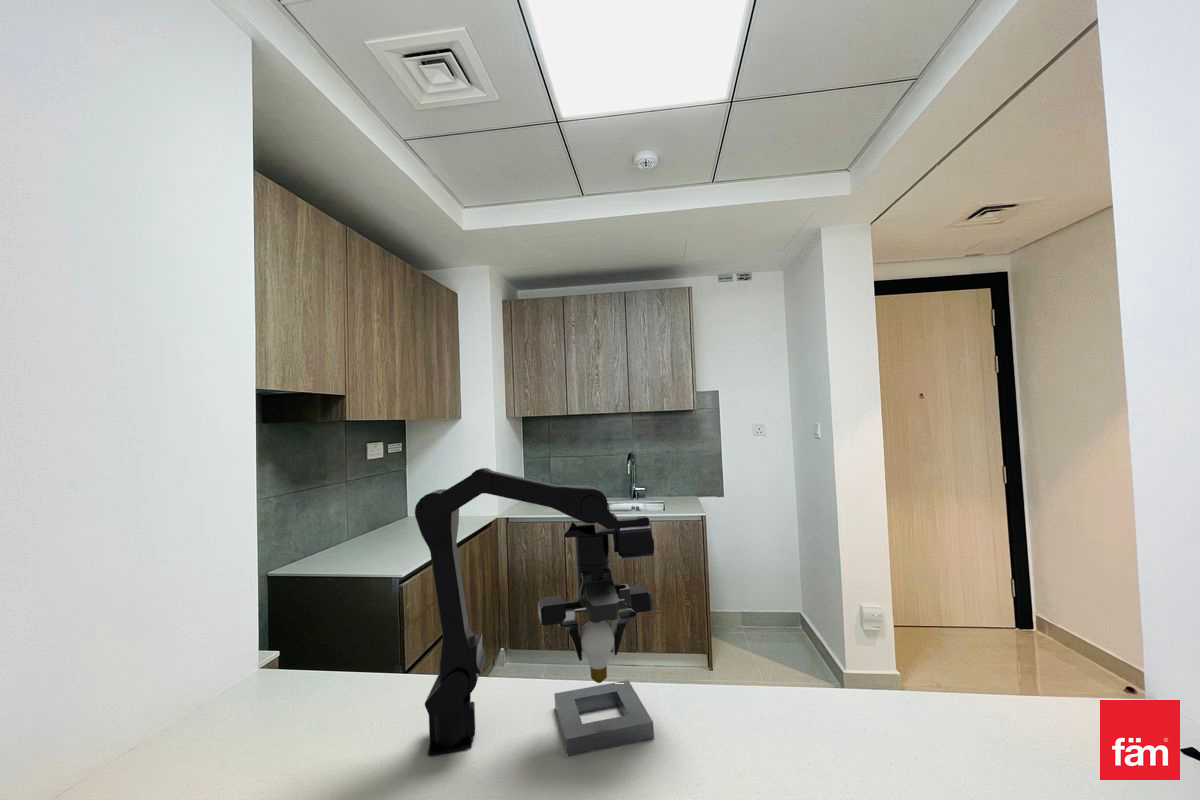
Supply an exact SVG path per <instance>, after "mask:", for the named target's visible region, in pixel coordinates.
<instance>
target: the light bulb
mask: <svg viewBox="0 0 1200 800" xmlns="http://www.w3.org/2000/svg"><path fill="white" fill-rule="evenodd" d="M579 638H580V644H581V650H582V652H583V653H584V655H585V656H586V658H587V661H588V665H589V668H590V670H589V671H590V679H592V681H594V682H595V683H597V684H601V683H603V682H604V681H605V680H606V679H607V678H608V675H607V674H608V671H607V670H608V668H607V667H608V665H607V664H608V663H609V657H610V654H611V652H612V651H613V645H614V632H613V630H612V625H610V624H609V622H607V621H600V622H599V623H593V622H591V621H590V620H589V621H587V622H586V623H585V624H584V625H582V627H581V630H580V631H579Z"/></svg>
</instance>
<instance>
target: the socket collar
mask: <svg viewBox="0 0 1200 800" xmlns="http://www.w3.org/2000/svg"><path fill="white" fill-rule="evenodd" d="M615 683H624V684H615ZM616 707H617V708H618V710H619V711H620V714H621V716H615V717H612V718H610V717H609V718H607V719H602V720H597V721H595V720H594V721H592V722H585V723H583V722H582V719H581V716H580V714H584V713H588V712H589V713H590V712H593V711H599V710H600V711H601V710H604V709H612V708H616ZM554 710H555V713H556V717H557V722H558V726H559V731H560V732H561V737H562V742H563V745H564V749H565V752H566V756H567V757H574V756H577V755H583V754H587V753H593V752H597V751H602V750H607V749H612V748H615V747H620V746H625V745H630V744H634V743H639V742H640V743H641V742H644V741H650V740H654V739H655V734H654V733H655V731H654V729H655V728H654V721H653V719H652V717H651V715H650V714H649V712H648V710H647V709H646V707H645V705H644V704H643V702H642V700H641V699H640V697H639V696H638V693H636V691H635V689H634V687H633V685H632V684H631V683H630V680H628V679H627V680H622V681H617V682H616V681H615V682H611V683H606V684H599V685H595V686H588V687H584V688H577V689H573V690H565V691H560V692H556V693H554Z"/></svg>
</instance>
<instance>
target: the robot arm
mask: <svg viewBox="0 0 1200 800" xmlns="http://www.w3.org/2000/svg"><path fill="white" fill-rule="evenodd" d="M483 494H485V495H486V494H487V495H492V496H495V497H501V498H505V499H510V500H515V501H518V502H524V503H528V504H534V505H537V506H538V505H539V506H542V507H547V508H551V509H553V510H556V511H558V512H560V513H562V514H564V515H567V516H568V517H570V518H573V519H575V520H577V521H580V522H583V523H584V524H577V523H576V522H575V520H570V523H569V524H568V526H567V527H566V528H565V529H563V537H564V538H565V539H566V538H568V539H569V538H574V548H575V567H576V568H575V570H576V571H575V573H576V591H577V592H576V593H577V599H572V600H566V601H564V600H563V597H562V595H554V596H553V595H551V596H545V597H540V598H539V600H538V602H537V612H538V613H537V614H538V618H539V621H540V624H541V626H545V627H546V626H554V625H558V626H559V627H560V628H561V629H566V630H567V632H568V633H569V636H570V639H571V641H572V643H573V644H572V645H573V646H574V649H575V652H576V655H577V658H578V660H579V661H583V655H582V654H583V653H582V652H583V650H582V649H581V644H580V638H579V636H580V631H579V623H578V621H577V618H576V613H583V612H587V616H588V618H587V619H588V620H589V621H591V622H593V623H599V622H600V621H605V622H607V621H611V628H612V630H613V632H614V645H613V648H612V652H613V655H614V656H617V655H618V653H619V649H620V645H621V641H622V638H623V635H624V631H625V629H626V626H627V624H628V623H629V622H630V620H632V619H633V618H636V617H637V614H638V613H644V612H645V613H646V612H651V611H652V610H654V607H653V603H654V602H653V601H654V600H653V595H652V594H651V593H650V592H649V591H648V590H647V589H646V588H644V587H643V586H642V585H641V584H635V585H630V586H629V584H628V583H621V584H614V580H613V578H612V577H613V576H612V570H611V565H610V561H611V560H610V545H609V544H611V549H612V554H613V555H615V554H617V556H618V558H619V560H628V559H629V560H630V559H641V558H642V559H643V558H652V557H654V554H655V540H654V539H655V538H654V537H653V533H652V528H651V526H650V518H649V517H648V516H646V515H643V516H642V515H641V516H636V517H629V518H618V517H617V515H616V514H615V513H614V512H610V511H611V510H609V504H608V499H607V497H606V495H605V494H604V493H603V491H602V490H601V489H600V488H598V487H597V486H593V485H587V484H586V485H584V484H554V483H549V482H544V481H539V480H536V479H531V478H527V477H523V476H517V475H513V474H508V473H504V472H500V471H495V470H492V469H491V468H488V467H481V468H478V469H476V470H475V471H473V472H472V473H471V474H470V475H468V476H467V477H466V478H463V479H462V480H460V481H459V482H457V483H455V484H454V485H452V486H451V487H448V488H447V489H445V488H443V489H437V490H433V491H432V492H430V493H427V494H425V495H423V497H421V498H420V499H419V500H418V502H417V503H416V505H415V508H414V517H415V519H416V522H417V525H418V529H419V531H420V534H421V536H422V538H423V540H424V542H425V544H426V546H427V548H428V549H429V550H428V551H429V553H430V558H431V559H430V560H431V567H432V572H433V573H432V574H433V580H434V581H433V582H434V586H435V587H434V588H435V593H436V600H437V609H438V615H439V622H440V628H441V635H442V643H441V650H440V657H439V658H440V659H439V674H438V675H437V677H436V678H435V682H434V683H433V684H432V688H431V689H430V691H429V694H427V695H428V696H427V698H426V700H425V701H424V707H425V709H426V712H427V714H428V730H429V731H428V732H429V733H428V734H429V744H428V750H427V755H428V756H430V757H431V756H436V755H441V754H445V753H452V752H457V751H461V750H466V749H470V748H471V747H473V738H474V737H475V736H476V709H475V708H476V707H475V706H476V705H475V702H474V701H471V700H472V698H471V697H472V696H471V695H472V692H473V691H474V689H476V686H477V683H478V680H479V677H480V675H481V673H482V669H483V667H484V664H485V660H486V658H487V657H486V656H487V654H486V652H485V651H484V648H483V647H484V646H483V633H482V632H480V633H477V634H474V632H473V630H472V629H471V627H470V625H469V619H468V613H467V610H468V609H467V605H466V597H465V591H464V584H463V578H462V572H461V565H460V558H459V551H458V545H457V541H458V539H457V538H458V532H459V531H458V530H459V522H460V521H459V520H460V508H461V507H463V506H465V505H466V504H468V503H469V502H471V501H472V500H474V499H476V498H477V497H479V496H480V495H483ZM595 524H598V525H600V526H602V528H599V527H597V528H596V527H595ZM609 535H610V541H611V543H609Z"/></svg>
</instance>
